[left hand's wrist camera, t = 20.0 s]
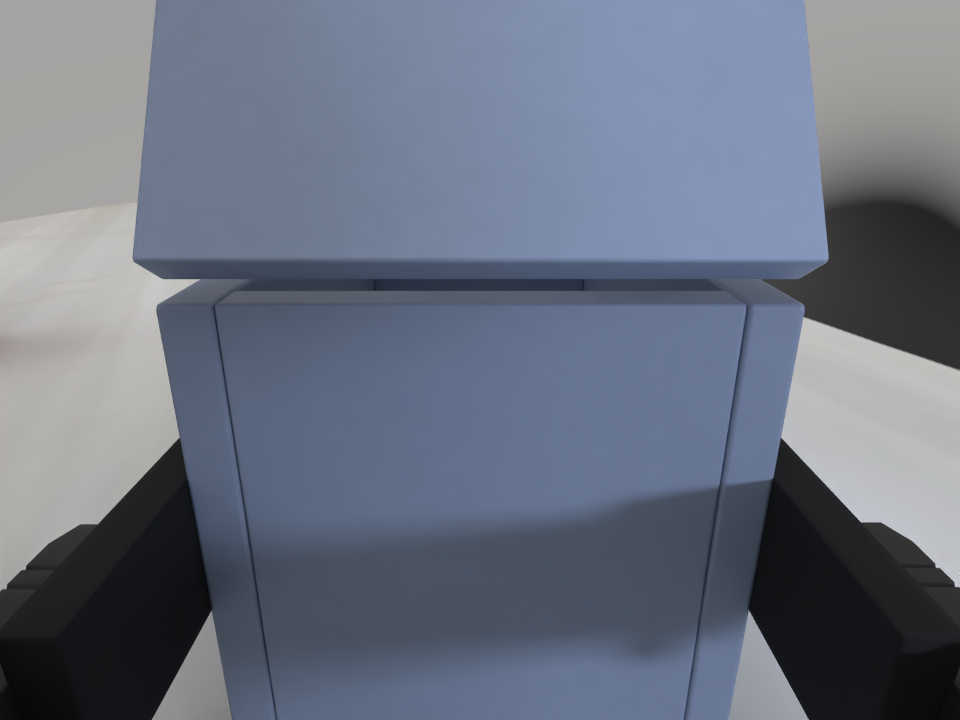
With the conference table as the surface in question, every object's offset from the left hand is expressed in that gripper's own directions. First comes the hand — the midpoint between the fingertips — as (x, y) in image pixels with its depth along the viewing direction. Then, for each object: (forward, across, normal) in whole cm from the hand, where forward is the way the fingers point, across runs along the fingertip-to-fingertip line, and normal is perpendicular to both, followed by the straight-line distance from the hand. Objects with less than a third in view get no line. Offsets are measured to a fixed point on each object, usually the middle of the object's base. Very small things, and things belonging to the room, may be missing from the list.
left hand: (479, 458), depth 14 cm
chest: (+5, 0, -7) cm, 8 cm away
